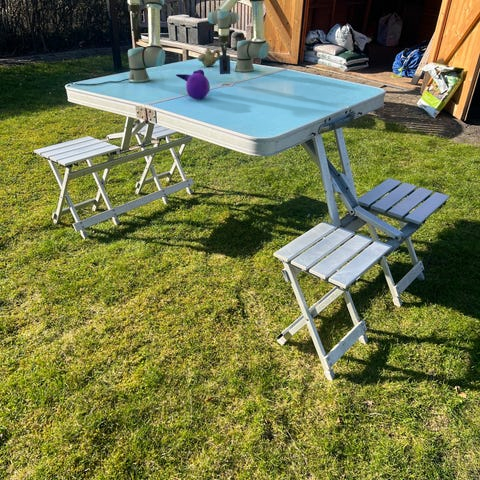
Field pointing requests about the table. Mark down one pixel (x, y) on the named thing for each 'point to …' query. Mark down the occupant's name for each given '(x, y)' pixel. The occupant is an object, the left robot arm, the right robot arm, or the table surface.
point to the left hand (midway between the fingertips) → (138, 40)
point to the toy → (196, 84)
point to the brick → (222, 64)
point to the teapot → (209, 57)
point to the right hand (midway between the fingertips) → (224, 70)
